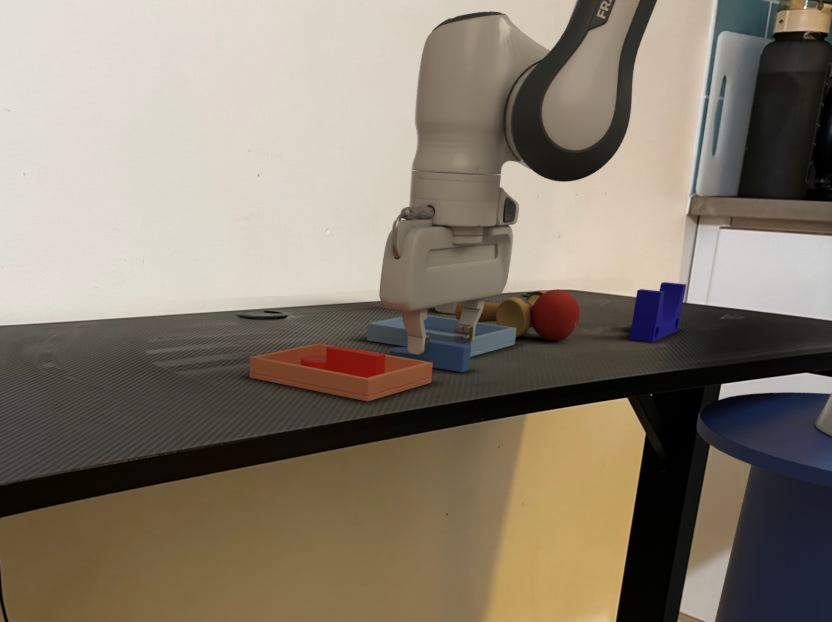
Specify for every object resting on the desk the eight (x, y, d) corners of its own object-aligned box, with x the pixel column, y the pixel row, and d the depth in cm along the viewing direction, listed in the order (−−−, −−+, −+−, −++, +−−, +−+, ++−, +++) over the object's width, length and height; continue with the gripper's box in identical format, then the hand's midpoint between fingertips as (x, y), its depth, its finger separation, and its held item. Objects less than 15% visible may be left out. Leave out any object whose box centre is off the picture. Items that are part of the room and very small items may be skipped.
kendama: (439, 336, 128) (554, 337, 115) (444, 286, 126) (560, 281, 114) (476, 342, 133) (588, 343, 121) (480, 293, 131) (595, 290, 119)
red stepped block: (390, 379, 94) (391, 352, 93) (369, 385, 92) (370, 357, 90) (315, 365, 99) (315, 339, 98) (293, 370, 96) (293, 343, 95)
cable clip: (645, 326, 134) (653, 280, 131) (677, 330, 132) (686, 284, 129) (618, 337, 125) (625, 288, 122) (652, 342, 123) (661, 292, 120)
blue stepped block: (473, 369, 103) (476, 344, 102) (457, 374, 100) (459, 348, 99) (401, 356, 108) (402, 332, 106) (383, 361, 105) (384, 336, 104)
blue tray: (514, 344, 117) (516, 327, 116) (469, 357, 109) (471, 339, 108) (416, 329, 124) (417, 313, 123) (366, 340, 116) (367, 323, 115)
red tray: (431, 382, 96) (433, 362, 95) (367, 401, 88) (368, 379, 87) (318, 362, 103) (318, 342, 102) (249, 377, 95) (249, 357, 94)
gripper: (425, 209, 87) (413, 365, 93) (527, 205, 102) (511, 340, 108) (367, 204, 90) (360, 355, 96) (475, 201, 105) (463, 332, 111)
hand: (441, 347), depth 102 cm, fingers open, 8 cm apart
